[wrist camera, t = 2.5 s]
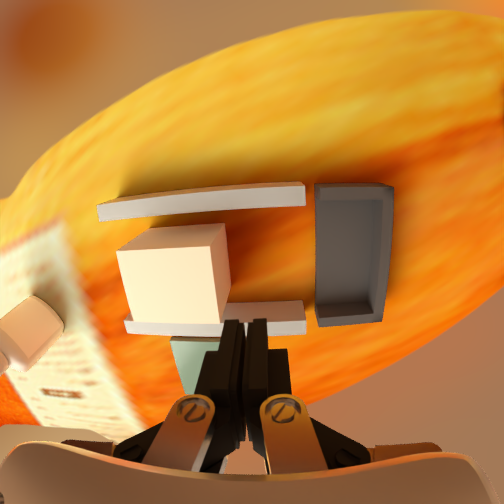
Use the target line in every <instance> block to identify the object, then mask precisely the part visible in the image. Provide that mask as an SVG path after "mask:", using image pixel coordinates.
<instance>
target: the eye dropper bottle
mask: <svg viewBox="0 0 504 504" xmlns="http://www.w3.org/2000/svg"><path fill="white" fill-rule="evenodd" d="M63 329H64V324H63V322H62V320H61V319H60V317H59V316H58V315H57V313H56V312H55V311H54V310H53V309H52V308H51V307H50V306H49V305H48V304H47V303H45V302H44V301H43V300H41V299H40V298H38V297H36V296H29V297H28V298H27V299H25V300H24V301H23V302H21V303H20V304H19V305H17V306H16V307H15V308H14V309H12V310H11V311H10V312H8V313H7V314H6V315H5V316H4V317H2V318H1V319H0V376H1V375H2V374H3V373H4V372H5V371H6V370H7V369H8V368H9V367H11V368H13V369H15V370H17V371H20V372H27V371H28V370H29V369H30V368H31V367H32V366H33V365H34V364H35V363H36V362H37V361H38V360H39V359H40V358H41V357H42V356H43V354H44V353H45V352H46V351H47V350H48V349H49V348H50V347H51V346H52V345H53V344H54V343H55V342H56V341H57V340H58V339H59V338H60V337H61V335H62V332H63Z"/></svg>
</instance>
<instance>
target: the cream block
mask: <svg viewBox="0 0 504 504" xmlns="http://www.w3.org/2000/svg"><path fill="white" fill-rule="evenodd" d="M116 253H117V258H118V263H119V267H120V271H121V276H122V280H123V284H124V288H125V292H126V295H127V299H128V303H129V307H130V310H131V314H132V317H133V321H134V322H153V323H186V324H220V322H221V319H222V316H223V312H224V309H225V305H226V302H227V299H228V295H229V292H230V289H231V278H230V268H229V259H228V249H227V239H226V229H225V223H215V224H200V225H185V226H172V227H159V228H149V229H147V230H146V231H145V232H143V233H142V234H140V235H139V236H137V237H136V238H134V239H133V240H131V241H130V242H128V243H127V244H126V245H124V246H123V247H121V248H120V249H118V250H117V251H116Z"/></svg>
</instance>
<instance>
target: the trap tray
mask: <svg viewBox="0 0 504 504" xmlns="http://www.w3.org/2000/svg"><path fill="white" fill-rule="evenodd" d="M314 188H315V230H316V272H315V314H316V318H317V322H318V326H319V327H329V326H341V325H353V324H363V323H373V322H382V318H383V312H384V306H385V299H386V292H387V284H388V276H389V266H390V256H391V244H392V230H393V209H394V187H391V186H388V185H385V184H382V183H319V184H314Z"/></svg>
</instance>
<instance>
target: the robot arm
mask: <svg viewBox="0 0 504 504" xmlns="http://www.w3.org/2000/svg"><path fill="white" fill-rule="evenodd" d="M246 423H247V430H248V436H249V441H252V442H253V449H254V450H255V451H256V452H257V453H258V454H260V455H261V456H262V457H264V463H265V468H266V473H267V475H236V474H224V470H225V467H226V464H227V461H228V455H229V454H230V453H231V452H233V451H234V450H235V449H239V446H240V441H245V436H246ZM0 504H501V503H500V501H499V499H498V496H497V494H496V492H495V489H494V487H493V485H492V483H491V482H490V480H489V478H488V476H487V475H486V473H485V472H484V470H483V469H482V467H481V466H480V465H479V464H478V463H477V462H476V461H475V460H474V459H473V458H471V457H469V456H467V455H464V454H460V453H454V452H442V449H441V448H440V447H439V446H438V445H436V444H434V443H432V442H422V443H411V444H396V445H375V447H374V448H366V447H364V446H363V445H361V444H360V443H358V442H356V441H354V440H352V439H350V438H348V437H346V436H344V435H342V434H340V433H338V432H336V431H334V430H332V429H331V428H329V427H327V426H325V425H323V424H321V423H320V422H318V421H316V420H314V419H313V418H311V417H309V414H308V411H307V408H306V405H305V404H304V402H303V401H302V400H301V399H300V398H298V397H296V396H294V395H292V392H291V382H290V371H289V362H288V352H287V349H268V332H267V318H256V319H253V322H248V327H247V338H246V335H245V325H244V322H243V323H239V319H227V320H225V321H224V326H223V330H222V334H221V339H220V343H219V348H218V351H206V353H205V355H204V359H203V363H202V366H201V370H200V373H199V377H198V381H197V384H196V388H195V391H194V394H192V395H187V396H184V397H182V398H180V399H179V400H177V401H176V402H175V403H174V405H173V406H172V408H171V410H170V411H169V413H168V415H167V417H166V419H165V421H163V422H161V423H159V424H157V425H155V426H153V427H151V428H149V429H147V430H145V431H143V432H141V433H139V434H137V435H135V436H133V437H131V438H129V439H126V440H124V441H123V442H121V443H119V444H118V445H115V444H114V443H113V442H95V441H81V440H65V441H63V442H61V443H56V442H49V441H29V442H23V443H21V444H18V445H17V446H16V447H14V448H13V449H12V450H11V451H10V452H9V453H8V455H7V456H6V457H5V459H4V460H3V461H2V463H1V464H0Z"/></svg>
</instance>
